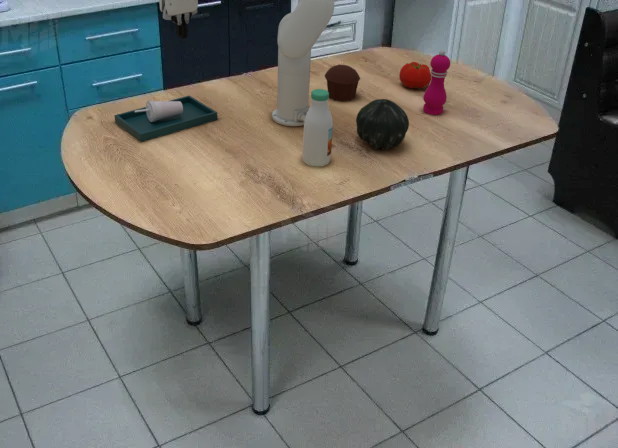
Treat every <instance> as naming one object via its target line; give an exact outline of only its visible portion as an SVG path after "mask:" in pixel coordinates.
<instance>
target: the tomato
mask: <svg viewBox="0 0 618 448" xmlns="http://www.w3.org/2000/svg"><path fill="white" fill-rule="evenodd" d="M431 79H432V75H431V69H430V67H429V65H428V64H427V65H426V64H425V63H419V62H417V61H411V62H409V63H408V62H407V63H405V64H404V65H403V66H402V67H401V68H400V71H399V81H400V83H402V84H403V85H404V86H405V87H407V88H409V89H415V88H416V89H423V88H427V87H428V86H429V85H430V83H431Z"/></svg>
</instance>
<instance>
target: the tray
mask: <svg viewBox="0 0 618 448" xmlns="http://www.w3.org/2000/svg"><path fill="white" fill-rule="evenodd" d="M169 101H180V102H181V103H182V106H183V113H182V114H179V115H175V116H171V117H168V118H164V119H160V120H156V121H155V122H150V121H149V119H148V117H147V113H146V111H143V112H134V111H136V110H143V109H146V106H143V107H141V108H136V109H132V110H129V111H125V112H121V113H117V114H114V116H113V117H114V123H115V124H116V125H118V127H121V128H122V129H123V130H124V131H126V132H127V133H128V134H129V135H131V136H132V137H134V139H137V140H138V141H139V142H140V143H144V142H147V141H149V140H153V139H157V138H160V137H163V136H167V135H170V134H173V133H177V132H180V131H184V130H187V129H190V128H194V127H198V126H201V125H204V124H207V123H210V122H214V121H217V120H218V118H219V117H218V112H217V110H215V109H213V108H211V107H210V106H207V105H206V104H204V103H203V102H201V101H199V100H198V99H197V98H195V97H193V96H191V95H186V96H181V97H178V98H174V99H170V100H169Z"/></svg>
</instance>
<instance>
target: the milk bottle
mask: <svg viewBox="0 0 618 448" xmlns="http://www.w3.org/2000/svg"><path fill="white" fill-rule="evenodd" d="M310 92H311V93H310V100H311V102H310V103H311V104H310V105H309V107H310V108H309V110H308V112H307V114H306V117H305V121H304V125H303V135H302V137H303V138H302V161H303V163H305V164H306V165H308V166H310V167H324V166H327V165H328V164H330V162H331V160H332V159H331V158H332V145H333V129H334V128H333V127H334V121H333V116H332V113H331V110H330V107H329V103H328V102H329V99H330V98H329V92H328V89H323V88H315V89H313V90H311V91H310Z"/></svg>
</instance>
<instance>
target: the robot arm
mask: <svg viewBox="0 0 618 448" xmlns="http://www.w3.org/2000/svg"><path fill="white" fill-rule="evenodd" d="M158 3H159V10H160V12H161V13H162V19H164V20H166V21H171V22H172V23H174V27H175V35H176V37H177V38H179V39H182V40H185V39H188V38H189V35H188V34H189V28H188V24H189V23H190V19H191V18H192V16H194V15H196V14H198V8H199V0H159V1H158ZM334 12H335V0H298V3H297V5H296V6H295V8H294V10H293V11H292V12H289V13H287V14H285V15H284V16H283V18H282V19H281V20H280V22H279V24H278V29H277V38H276V39H277V40H276V41H277V46H278V48H277V94H276V95H277V96H276V99H277V100H276V108H275V109H274V110H273V111H272V112H271V118H272V121H274V122H275V123H277V124H279V125H282V126H287V127H300V126H301V127H302V126H304V121H305V117H306V114H307V112H308V110H309V108H310V105H309V103H310V82H311V79H310V78H311V63H312V62H311V61H312V48H313V47H314V46H315V44H316V42H318V39H319V38H320V37H321V35H322V34H323V33H324V30H325V29H326V27H327V26H328V25H329V23H330V21H331V19H332V17H333V15H334Z"/></svg>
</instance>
